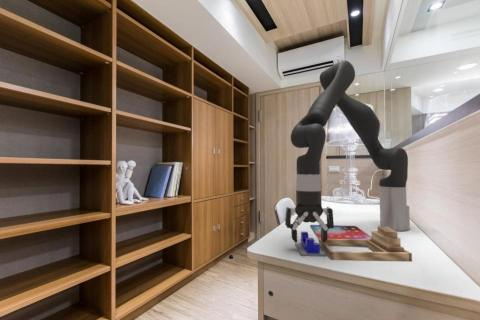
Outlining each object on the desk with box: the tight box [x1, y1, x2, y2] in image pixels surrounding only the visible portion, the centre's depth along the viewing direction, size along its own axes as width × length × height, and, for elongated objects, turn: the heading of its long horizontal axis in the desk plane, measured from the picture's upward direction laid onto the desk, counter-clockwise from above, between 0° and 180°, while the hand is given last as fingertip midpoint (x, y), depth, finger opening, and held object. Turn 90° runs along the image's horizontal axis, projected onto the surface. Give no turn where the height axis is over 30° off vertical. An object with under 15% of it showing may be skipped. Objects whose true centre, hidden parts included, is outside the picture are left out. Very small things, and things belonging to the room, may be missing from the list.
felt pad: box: [294, 242, 327, 257], centre depth 68 cm, size 7×9×1 cm
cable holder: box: [300, 231, 321, 254], centre depth 68 cm, size 8×4×4 cm, turn 177°
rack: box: [318, 239, 413, 262], centre depth 67 cm, size 21×12×2 cm, turn 87°
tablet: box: [309, 224, 371, 248], centre depth 83 cm, size 19×25×1 cm
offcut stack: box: [370, 226, 405, 252], centre depth 66 cm, size 5×9×6 cm, turn 177°
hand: (309, 241), depth 68 cm, fingers open, 8 cm apart
